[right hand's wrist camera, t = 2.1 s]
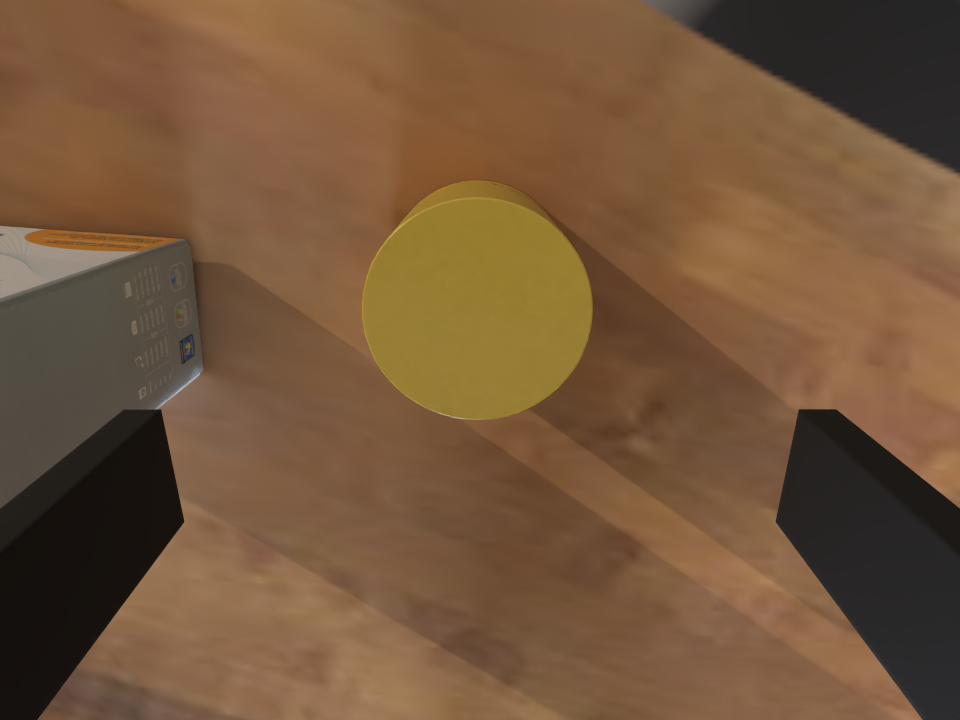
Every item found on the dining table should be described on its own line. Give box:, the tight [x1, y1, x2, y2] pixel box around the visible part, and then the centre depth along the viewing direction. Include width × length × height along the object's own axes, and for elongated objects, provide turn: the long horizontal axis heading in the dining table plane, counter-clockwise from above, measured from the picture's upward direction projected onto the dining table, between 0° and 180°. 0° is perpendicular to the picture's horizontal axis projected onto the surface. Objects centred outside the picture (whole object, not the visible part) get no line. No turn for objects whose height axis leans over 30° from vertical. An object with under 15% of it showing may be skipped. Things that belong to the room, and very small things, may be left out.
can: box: [362, 180, 593, 420], centre depth 28 cm, size 9×9×8 cm
